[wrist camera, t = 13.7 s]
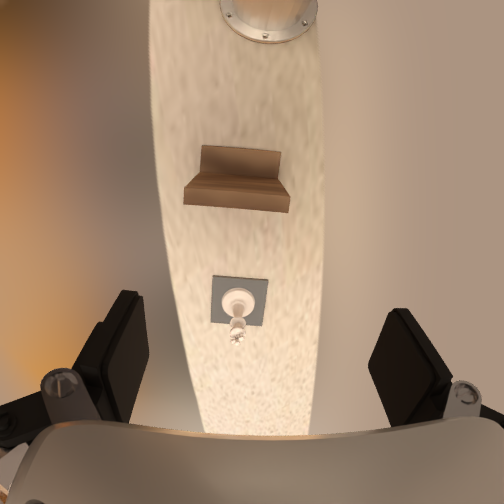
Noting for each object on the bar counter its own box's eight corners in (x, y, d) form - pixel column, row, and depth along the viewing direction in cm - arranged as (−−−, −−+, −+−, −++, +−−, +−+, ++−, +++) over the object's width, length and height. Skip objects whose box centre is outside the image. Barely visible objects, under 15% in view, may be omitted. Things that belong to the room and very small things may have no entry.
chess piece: (260, 307, 47) (264, 349, 38) (231, 320, 48) (229, 363, 39) (245, 282, 46) (246, 321, 36) (215, 295, 46) (209, 336, 37)
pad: (212, 275, 46) (212, 276, 45) (268, 279, 46) (268, 280, 46) (210, 320, 49) (210, 322, 48) (261, 324, 49) (261, 326, 49)
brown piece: (202, 145, 39) (186, 152, 28) (280, 152, 39) (294, 161, 28) (199, 183, 41) (183, 204, 29) (275, 189, 41) (288, 213, 30)
